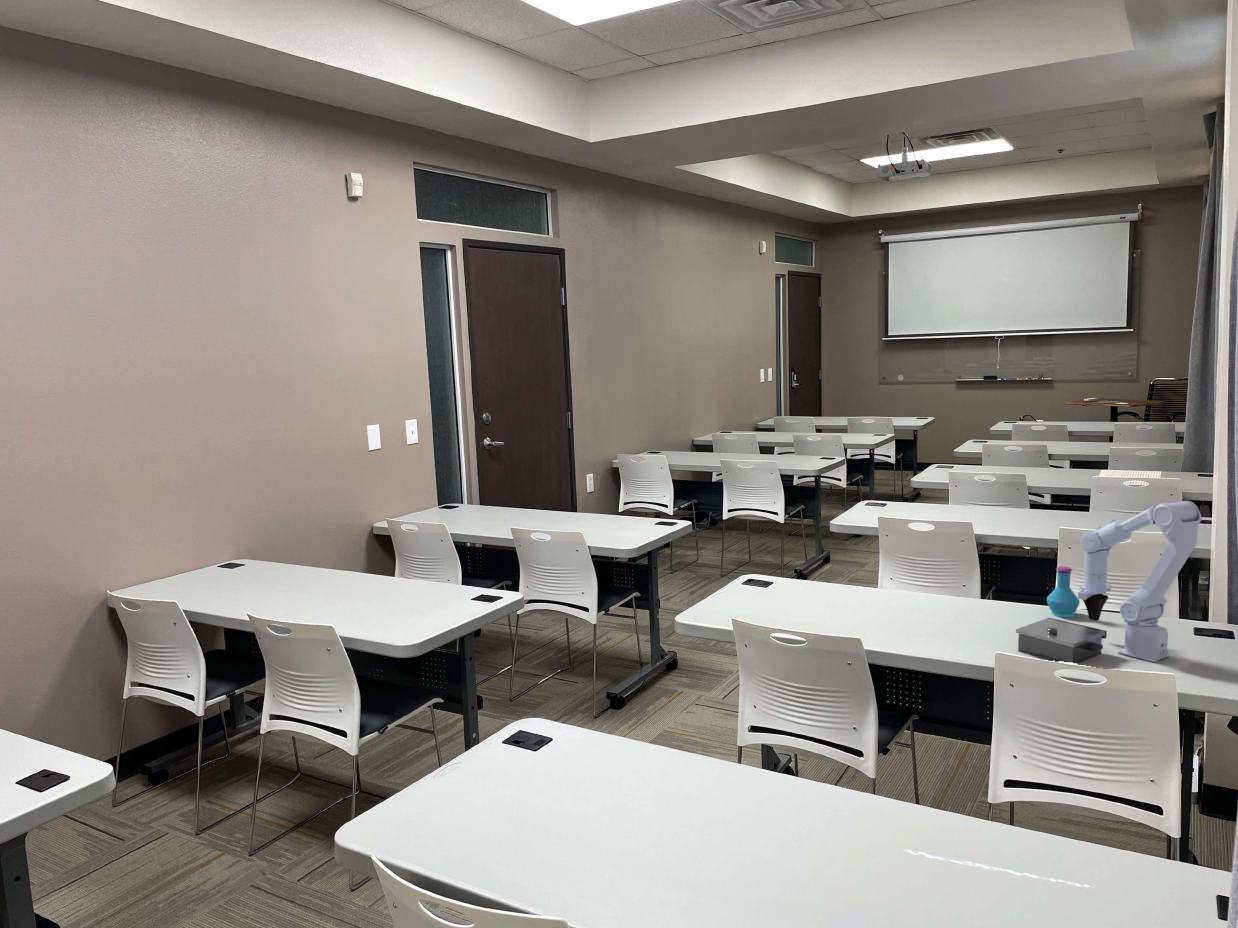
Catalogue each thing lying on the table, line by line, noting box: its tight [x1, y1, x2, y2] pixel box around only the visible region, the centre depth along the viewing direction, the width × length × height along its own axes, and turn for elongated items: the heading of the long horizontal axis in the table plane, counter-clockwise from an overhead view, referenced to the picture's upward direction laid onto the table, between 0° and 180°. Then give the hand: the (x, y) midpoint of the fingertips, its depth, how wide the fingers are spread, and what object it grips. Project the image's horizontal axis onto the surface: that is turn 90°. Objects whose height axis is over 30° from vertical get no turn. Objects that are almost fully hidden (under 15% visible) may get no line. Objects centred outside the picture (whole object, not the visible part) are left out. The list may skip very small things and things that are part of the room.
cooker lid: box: [1015, 617, 1108, 648], centre depth 236 cm, size 16×17×3 cm
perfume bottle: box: [1046, 565, 1081, 618], centre depth 270 cm, size 9×9×15 cm
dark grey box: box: [1017, 633, 1104, 664], centre depth 236 cm, size 21×15×5 cm
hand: (1094, 619), depth 245 cm, fingers closed
